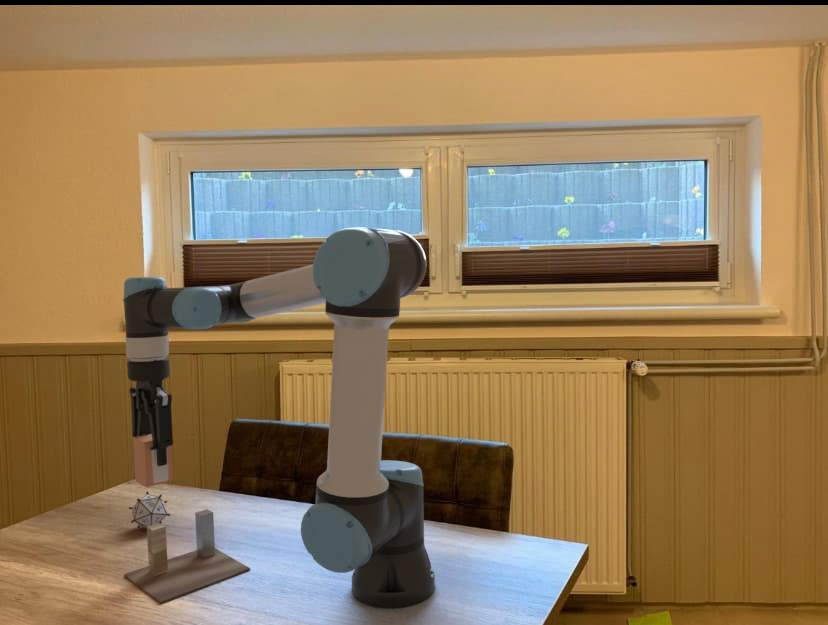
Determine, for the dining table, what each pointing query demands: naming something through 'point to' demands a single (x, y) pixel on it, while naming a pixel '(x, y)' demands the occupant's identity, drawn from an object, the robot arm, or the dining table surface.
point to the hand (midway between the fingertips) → (154, 477)
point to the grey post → (205, 534)
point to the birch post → (157, 549)
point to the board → (186, 575)
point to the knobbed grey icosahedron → (149, 511)
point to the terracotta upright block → (148, 461)
